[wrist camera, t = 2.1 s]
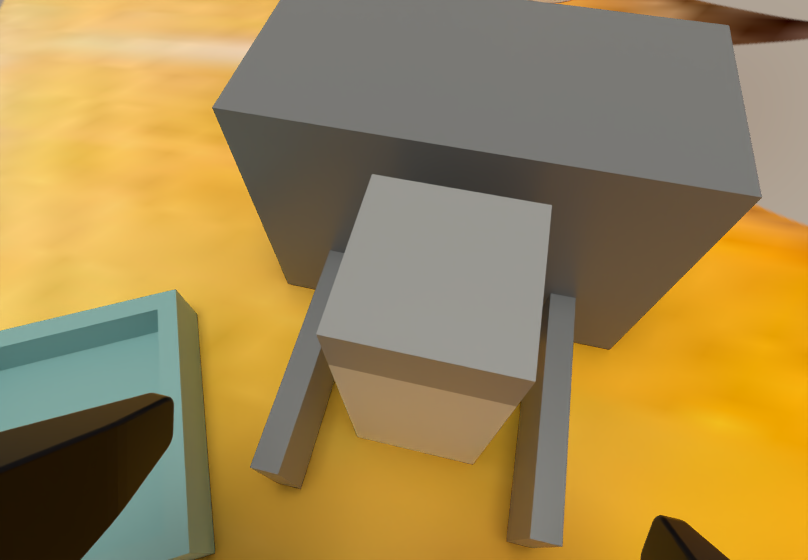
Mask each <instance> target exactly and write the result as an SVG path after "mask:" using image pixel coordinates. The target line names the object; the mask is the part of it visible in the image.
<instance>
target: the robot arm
mask: <svg viewBox="0 0 808 560" xmlns="http://www.w3.org/2000/svg"><path fill="white" fill-rule="evenodd" d="M173 427H174V402H173V399H172V398H171V397H169V396H165V395H161V394H157V393H147V394H143V395H139V396H136V397H132V398H128V399H124V400H120V401H116V402H113V403H109V404H105V405H101V406H97V407H93V408H89V409H86V410H82V411H78V412H74V413H70V414H66V415H63V416H59V417H55V418H51V419H47V420H43V421H40V422H36V423H32V424H28V425H24V426H20V427H17V428H13V429H9V430H5V431H1V432H0V560H81V559H82V558H83V557H84V556H85V554H86V553H87V552H88V551H89V550H90V549H91V547H92V546H93V545H94V544H95V543H96V542H97V541H98V539H99V538H100V537H101V536H102V535H103V534H104V533H105V531H106V530H107V529H108V528H109V527H110V526H111V524H112V523H113V522H114V521H115V520H116V518H117V517H118V516H119V515H120V513H121V512H122V511H123V509H124V508H125V507H126V505H127V504H128V503H129V501H130V500H131V499H132V497H133V496H134V494H135V493H136V492H137V490H138V489H139V487H140V486H141V485H142V483H143V482H144V481H145V479H146V478H147V476H148V475H149V474H150V472H151V471H152V469H153V468H154V467H155V465H156V464H157V462H158V461H159V460H160V458H161V457H162V456H163V454H164V453H165V451H166V450H167V449H168V447H169V445H170V443H171V441H172V438H173ZM641 560H729V559H728V558H727V557H726V556H725V555H724V554H722V553H721V552H720V551H719V550H718V549H717V548H715V547H714V546H713V545H712V544H711V543H710V542H708V541H707V540H706V539H705V538H704V537H702V536H701V535H700V534H699V533H698V532H697V531H695V530H694V529H693V528H692V527H691V526H690V525H688V524H687V523H686V522H685V521H683V520H680V519H676V518H671V517H667V516H663V515H659V516H657V517H656V518H655V519H654V520H653V522H652V525H651V528H650V530H649V533H648V536H647V538H646V541H645V544H644V547H643V549H642V553H641Z"/></svg>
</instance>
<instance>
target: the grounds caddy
mask: <svg viewBox="0 0 808 560" xmlns="http://www.w3.org/2000/svg"><path fill="white" fill-rule="evenodd" d="M551 210H552V205H548V204H542V203H536V202H531V201H525V200H519V199H513V198H508V197H502V196H496V195H490V194H484V193H479V192H473V191H467V190H461V189H456V188H450V187H444V186H438V185H432V184H427V183H421V182H415V181H409V180H404V179H398V178H392V177H386V176H380V175H375V174H372V176H371V178H370V181H369V184H368V187H367V190H366V193H365V196H364V198H363V201H362V204H361V207H360V210H359V213H358V216H357V219H356V221H355V224H354V227H353V230H352V233H351V236H350V239H349V241H348V244H347V247H346V250H345V253H344V256H343V259H342V261H341V264H340V267H339V270H338V273H337V276H336V279H335V281H334V284H333V287H332V290H331V293H330V296H329V299H328V301H327V304H326V307H325V310H324V313H323V316H322V319H321V322H320V324H319V327H318V330H317V333H316V335H317V338H318V340H319V343H320V345H321V348H322V350H323V353H324V355H325V358H326V360H327V363H328V365H329V368H330V370H331V373H332V375H333V377H334V380H335V382H336V385H337V387H338V390H339V392H340V395H341V397H342V400H343V402H344V405H345V407H346V410H347V412H348V415H349V417H350V419H351V422H352V424H353V427H354V429H355V432H356V434H357V437H360V438H364V439H368V440H372V441H377V442H381V443H385V444H389V445H393V446H397V447H402V448H406V449H410V450H414V451H418V452H423V453H427V454H431V455H435V456H439V457H443V458H448V459H452V460H456V461H460V462H464V463H469V464H473V463H474V462H475V461H476V460H477V458H478V457H479V456H480V454H481V453H482V452H483V450H484V449H485V448H486V446H487V445H488V444H489V442H490V441H491V440H492V438H493V437H494V436H495V435H496V433H497V432H498V431H499V429H500V428H501V427H502V425H503V424H504V423H505V421H506V420H507V419H508V417H509V416H510V415H511V413H512V412H513V411H514V410H515V408H516V407H517V406H518V404H519V403H520V402H521V400H522V399H523V398H524V396H525V395H526V394H527V392H528V391H529V390H530V388H531V387H532V386H533V385H534V383H535V382H536V372H537V361H538V351H539V340H540V329H541V318H542V307H543V297H544V286H545V275H546V264H547V254H548V243H549V232H550V221H551Z"/></svg>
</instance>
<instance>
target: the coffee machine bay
mask: <svg viewBox="0 0 808 560" xmlns="http://www.w3.org/2000/svg"><path fill="white" fill-rule="evenodd" d="M212 108H213V110H214V113H215V115H216V117H217V120H218V122H219V124H220V127H221V129H222V131H223V134H224V136H225V138H226V141H227V143H228V145H229V148H230V150H231V152H232V155H233V157H234V159H235V161H236V164H237V166H238V168H239V171H240V173H241V175H242V178H243V180H244V182H245V185H246V187H247V189H248V192H249V194H250V196H251V199H252V201H253V203H254V206H255V208H256V210H257V213H258V215H259V217H260V219H261V222H262V224H263V226H264V229H265V231H266V233H267V236H268V238H269V240H270V243H271V245H272V247H273V250H274V252H275V254H276V257H277V259H278V261H279V264H280V266H281V268H282V271H283V273H284V275H285V277H286V280H287V282H288V284H292V285H297V286H302V287H307V288H311V289H316V290H315V292H314V295H313V298H312V301H311V303H310V306H309V309H308V311H307V314H306V317H305V320H304V322H303V325H302V328H301V330H300V333H299V336H298V339H297V341H296V344H295V347H294V349H293V352H292V355H291V358H290V360H289V363H288V366H287V368H286V371H285V374H284V376H283V379H282V382H281V385H280V387H279V390H278V393H277V395H276V398H275V401H274V404H273V406H272V409H271V412H270V414H269V417H268V420H267V423H266V425H265V428H264V431H263V433H262V436H261V439H260V442H259V444H258V447H257V450H256V452H255V455H254V458H253V460H252V463H251V466H250V468H252V469H254V470H255V471H257V472H259V473H261V474H263V475H264V476H266V477H268V478H270V479H272V480H273V481H275V482H277V483H280V484H284V485H288V486H292V487H296V488H300V489H301V486H302V483H303V480H304V477H305V473H306V470H307V467H308V464H309V461H310V457H311V454H312V451H313V448H314V444H315V441H316V438H317V435H318V432H319V428H320V425H321V422H322V419H323V416H324V412H325V409H326V406H327V403H328V400H329V396H330V393H331V390H332V387H333V384H334V377H333V375H332V373H331V370H330V368H329V365H328V363H327V360H326V358H325V355H324V353H323V350H322V348H321V345H320V343H319V340H318V338H317V335H316V333H317V330H318V327H319V324H320V322H321V319H322V316H323V313H324V310H325V307H326V304H327V301H328V299H329V296H330V293H331V290H332V287H333V284H334V281H335V279H336V276H337V273H338V270H339V267H340V264H341V261H342V259H343V256H344V253H345V250H346V247H347V244H348V241H349V239H350V236H351V233H352V230H353V227H354V224H355V221H356V219H357V216H358V213H359V210H360V207H361V204H362V201H363V198H364V196H365V193H366V190H367V187H368V184H369V181H370V178H371V176H372V174H375V175H380V176H386V177H392V178H398V179H404V180H409V181H415V182H421V183H427V184H432V185H438V186H444V187H450V188H456V189H461V190H467V191H473V192H479V193H484V194H490V195H496V196H502V197H508V198H513V199H519V200H525V201H531V202H536V203H542V204H548V205H552V210H551V221H550V232H549V243H548V254H547V264H546V275H545V286H544V297H543V307H542V318H541V329H540V340H539V351H538V361H537V372H536V382H535V383H534V385H533V386H532V387H531V388H530V390H529V391H528V392H527V394H526V395H525V396H524V398H523V399H522V400H521V409H520V418H519V428H518V437H517V446H516V456H515V465H514V475H513V484H512V494H511V503H510V512H509V522H508V531H507V542H511V543H515V544H519V545H522V546H526V547H530V548H544V547H562V543H563V524H564V505H565V487H566V468H567V450H568V431H569V413H570V394H571V376H572V357H573V342H575V343H580V344H585V345H590V346H595V347H600V348H604V349H610V348H611V347H612V346H613V345H614V344H616V343H617V342H618V341H619V340H620V339H621V338H622V337H623V336H624V335H625V334H626V333H627V332H628V331H629V330H630V329H631V328H632V327H633V326H634V325H635V324H636V323H637V322H638V321H639V320H640V319H641V318H642V317H643V316H644V315H645V314H646V313H647V312H648V311H649V310H650V309H651V308H652V307H653V306H654V305H655V304H656V303H657V302H658V301H659V300H660V299H661V298H662V297H663V296H664V295H665V294H666V293H667V292H668V291H669V290H670V289H671V288H672V287H673V286H674V285H675V284H676V283H677V282H678V281H679V280H680V279H681V278H682V277H683V276H684V275H685V274H686V273H687V272H688V271H689V270H690V269H691V268H692V267H693V266H694V265H695V264H696V263H697V262H698V261H699V260H700V259H701V258H702V257H703V256H704V255H705V254H706V253H707V252H708V251H709V250H710V249H711V248H712V247H713V246H714V245H715V244H716V243H717V242H718V241H719V240H720V239H721V238H722V237H723V236H724V235H725V234H726V233H727V232H728V231H729V230H730V229H731V228H732V227H733V226H734V225H735V224H736V223H737V222H738V221H739V220H740V219H741V218H742V217H743V216H744V215H745V214H746V213H747V212H748V211H749V210H750V209H751V208H752V207H753V206H754V205H755V204H756V203H757V202H758V201H759V200H760V199H761V198H762V195H761V191H760V186H759V180H758V175H757V170H756V164H755V159H754V154H753V149H752V143H751V138H750V133H749V128H748V122H747V118H746V112H745V107H744V102H743V96H742V91H741V86H740V81H739V76H738V70H737V65H736V60H735V55H734V50H733V44H732V39H731V34H730V29H729V25H721V24H713V23H705V22H697V21H689V20H681V19H673V18H665V17H657V16H649V15H641V14H633V13H625V12H617V11H609V10H601V9H593V8H586V7H578V6H570V5H562V4H554V3H546V2H538V1H530V0H280V1H279V3H278V5H277V6H276V8H275V9H274V11H273V12H272V14H271V16H270V17H269V19H268V20H267V22H266V24H265V25H264V27H263V28H262V30H261V31H260V33H259V35H258V36H257V38H256V39H255V41H254V42H253V44H252V46H251V47H250V49H249V50H248V52H247V54H246V55H245V57H244V58H243V60H242V61H241V63H240V65H239V66H238V68H237V69H236V71H235V72H234V74H233V76H232V77H231V79H230V80H229V82H228V84H227V85H226V87H225V88H224V90H223V91H222V93H221V95H220V96H219V98H218V99H217V101H216V102H215V104H214V106H213V107H212Z"/></svg>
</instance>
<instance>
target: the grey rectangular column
mask: <svg viewBox="0 0 808 560" xmlns="http://www.w3.org/2000/svg"><path fill="white" fill-rule="evenodd" d="M532 1H538V2H546V3H556V2H565V1H569V0H532Z"/></svg>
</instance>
